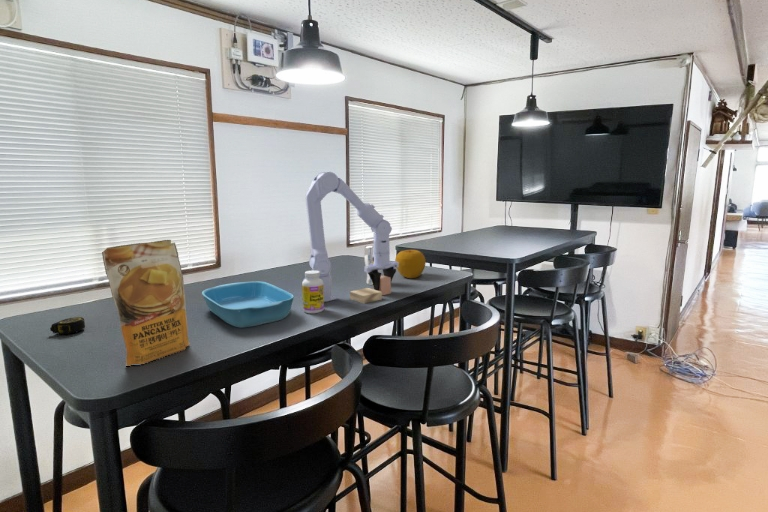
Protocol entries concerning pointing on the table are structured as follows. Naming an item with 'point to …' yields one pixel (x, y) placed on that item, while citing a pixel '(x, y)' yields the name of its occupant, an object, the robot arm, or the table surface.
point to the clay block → (385, 285)
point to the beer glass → (369, 260)
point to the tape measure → (68, 325)
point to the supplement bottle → (313, 292)
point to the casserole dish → (248, 303)
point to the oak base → (365, 295)
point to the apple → (410, 263)
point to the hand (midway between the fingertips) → (382, 289)
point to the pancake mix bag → (148, 299)
